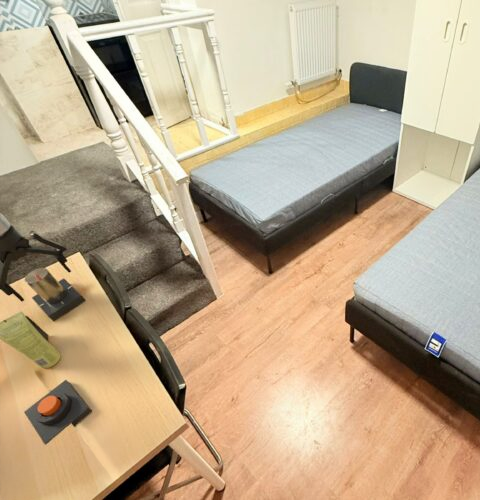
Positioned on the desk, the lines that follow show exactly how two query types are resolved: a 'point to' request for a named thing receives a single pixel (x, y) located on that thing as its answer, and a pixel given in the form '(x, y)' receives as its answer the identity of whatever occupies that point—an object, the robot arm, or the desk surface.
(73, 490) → the desk surface
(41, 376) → the desk surface
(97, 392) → the desk surface
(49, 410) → the button
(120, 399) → the desk surface
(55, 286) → the dial
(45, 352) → the tube
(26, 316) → the battery charger
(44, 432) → the dark grey base plate
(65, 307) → the dial panel
